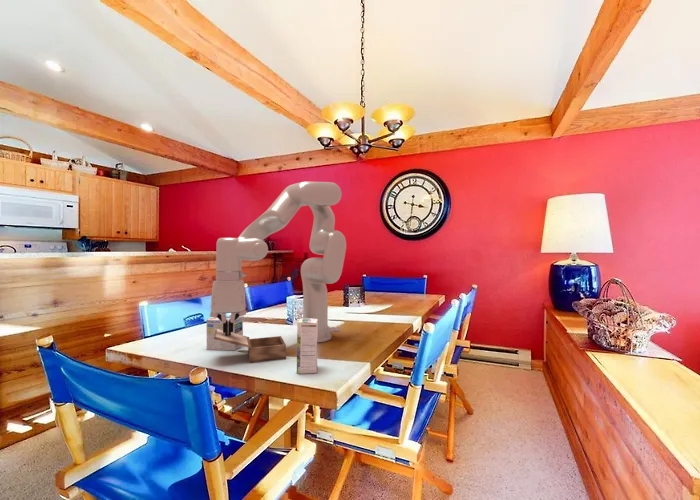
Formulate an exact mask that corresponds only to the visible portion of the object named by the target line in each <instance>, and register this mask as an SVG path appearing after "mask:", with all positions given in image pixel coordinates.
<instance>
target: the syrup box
mask: <svg viewBox="0 0 700 500" xmlns="http://www.w3.org/2000/svg"><path fill="white" fill-rule="evenodd" d="M296 327H297V328H296V329H297V333H296V335H297V336H296V337H297V338H296V339H297V341H296V374H297V375H298V374H300V375H301V374H302V375H303V374H316V373H317V372H318V348H319V347H318V343H319V342H318V319H313V318H303V317H302V318H299V320H298V322H297V326H296Z"/></svg>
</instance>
